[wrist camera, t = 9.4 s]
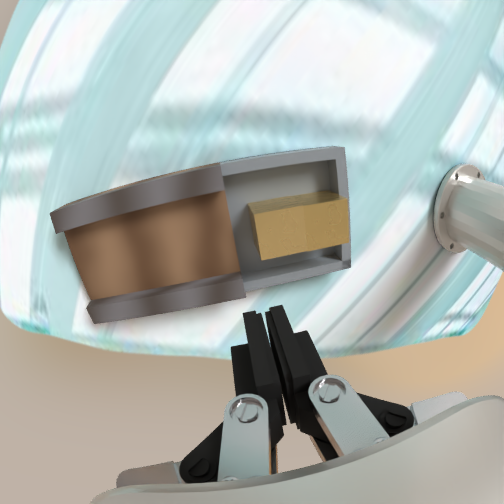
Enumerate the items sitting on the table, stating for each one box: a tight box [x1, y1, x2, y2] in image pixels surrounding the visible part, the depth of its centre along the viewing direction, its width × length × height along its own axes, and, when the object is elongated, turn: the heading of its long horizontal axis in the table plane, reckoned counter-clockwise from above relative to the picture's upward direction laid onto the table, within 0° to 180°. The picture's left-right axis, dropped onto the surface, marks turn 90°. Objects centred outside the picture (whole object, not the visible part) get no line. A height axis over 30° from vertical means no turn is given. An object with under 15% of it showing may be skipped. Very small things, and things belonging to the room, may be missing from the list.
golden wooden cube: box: [247, 196, 307, 261], centre depth 24 cm, size 4×4×4 cm
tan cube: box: [291, 190, 349, 252], centre depth 25 cm, size 4×4×4 cm
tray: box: [219, 146, 351, 292], centre depth 26 cm, size 11×12×2 cm
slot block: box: [50, 163, 246, 324], centre depth 24 cm, size 16×12×4 cm
